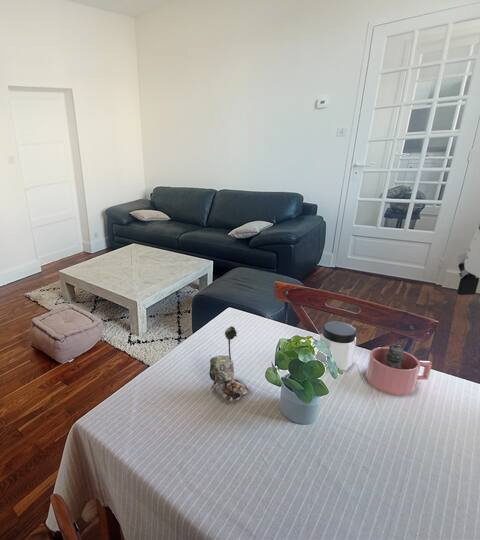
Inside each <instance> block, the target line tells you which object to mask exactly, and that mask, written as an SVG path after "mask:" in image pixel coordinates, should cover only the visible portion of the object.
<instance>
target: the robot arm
mask: <svg viewBox="0 0 480 540" xmlns="http://www.w3.org/2000/svg"><path fill="white" fill-rule="evenodd" d="M457 260H458V265H457V267H458V269H459V271H460V272H459V274H458V276H459V277H460V279H459V283H458V287H457V290H456V294H457V295H459V296H472V295H476V293H477V289H478V285H479V283H480V223H479V225H478V228H477V230H476V231H475V233H474V235H473V238H472V239H471V242H470V245H469V247H468V250H467V252H465V253H460V254H458V256H457Z"/></svg>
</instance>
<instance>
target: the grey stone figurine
mask: <svg viewBox="0 0 480 540" xmlns="http://www.w3.org/2000/svg"><path fill="white" fill-rule="evenodd" d="M388 348H389V352H388V354H386V357H387V360H386V363H381V364H383V365H386V366H388V367H391V368H395V369H401V370H405V369H404V368H402V367H401V361H403V357H402V355H403V351H404V347H403V346H401V345H400V343H399V342H398V341H397V342H395V343H393V344H390V345H389V346H388Z"/></svg>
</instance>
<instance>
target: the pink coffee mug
mask: <svg viewBox="0 0 480 540" xmlns="http://www.w3.org/2000/svg"><path fill="white" fill-rule="evenodd" d="M388 352H389V346H388V347H386V346H382V347H375V348H373V349H371V350H370V352H369V355H368V361H367V366H366V372H365V379H366V380H367V382H368V383H369V384H370V385H371V386H372V387H374V388H376V389H377V390H379V391H382V392H384V393H387V394H390V395H396V396H407V395H410V394H412V393H414V392H415V390H416V385H417V381H427V380H429V377H430V373H431V370H432V366H433V363H432V362H431V361H429V360H419V359H418V358H417V357H416V356H414V355H413V354H411V353H409V352H407V351H405V350H403V355H402V357H403V361H401V367H402V368H404V369H405V370H401V369H395V368H391V367H388V366H386V365H383V364H381V363H386V360H387V357H386V354H388ZM421 367H424V368H423V373H422V374H419V373H420V368H421Z"/></svg>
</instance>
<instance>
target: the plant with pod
mask: <svg viewBox="0 0 480 540" xmlns="http://www.w3.org/2000/svg"><path fill="white" fill-rule="evenodd" d="M237 332H238V331H237V330H236V328H235V326H233V325H231V326H229V327H228V328H226V329H225V331H224V336H225V338H226V339H227V340H228V355H217V356H213V357H211V355H209V357H211V358H210V359H209V364H210V365H209V372H208V374H209V378H210V380H211V381H213V384H212V385H211V388H210V392H209V395H212V393H213V391H214V390H219V387H221V388H220V390H221V394H222V395H223V398H224V400H226V401H227V402H233V401H239V400H240V399H241V398H242V396H245V394H247V393H248V394H249V389H248V388H247V385H245V384H243V383H241V382H240V380H239V379H234V378H235V367H234V366H235V365H234V360H233V358H232V356H231V341H232V340H234V338H237V337H238V335H237V334H238V333H237ZM217 384H218V385H217ZM216 385H217V386H216ZM222 387H223V388H222Z"/></svg>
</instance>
